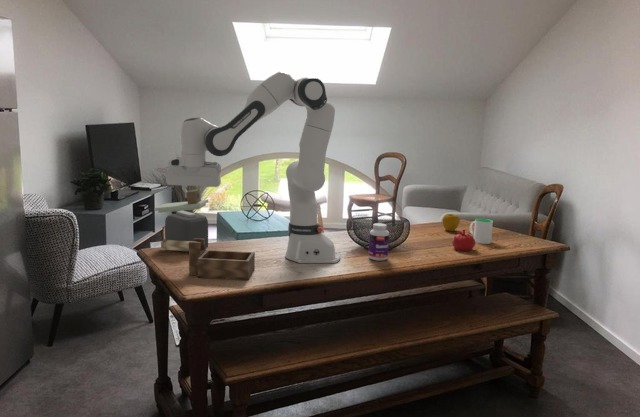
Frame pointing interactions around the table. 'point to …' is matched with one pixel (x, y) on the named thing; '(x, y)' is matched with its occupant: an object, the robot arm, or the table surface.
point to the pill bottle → (378, 242)
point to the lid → (184, 203)
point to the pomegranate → (463, 241)
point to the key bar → (175, 245)
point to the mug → (482, 230)
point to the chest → (219, 262)
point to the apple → (450, 222)
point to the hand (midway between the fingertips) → (193, 197)
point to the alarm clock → (186, 227)
